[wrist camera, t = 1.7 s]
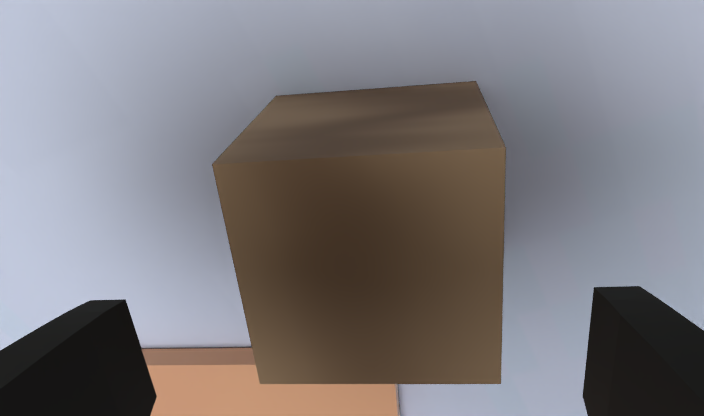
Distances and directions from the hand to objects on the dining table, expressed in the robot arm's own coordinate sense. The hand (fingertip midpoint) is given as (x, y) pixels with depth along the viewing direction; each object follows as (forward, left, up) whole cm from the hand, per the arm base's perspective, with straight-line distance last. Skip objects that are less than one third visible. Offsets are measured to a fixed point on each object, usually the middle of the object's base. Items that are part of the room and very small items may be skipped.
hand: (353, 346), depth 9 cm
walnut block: (0, 0, -7) cm, 7 cm away
